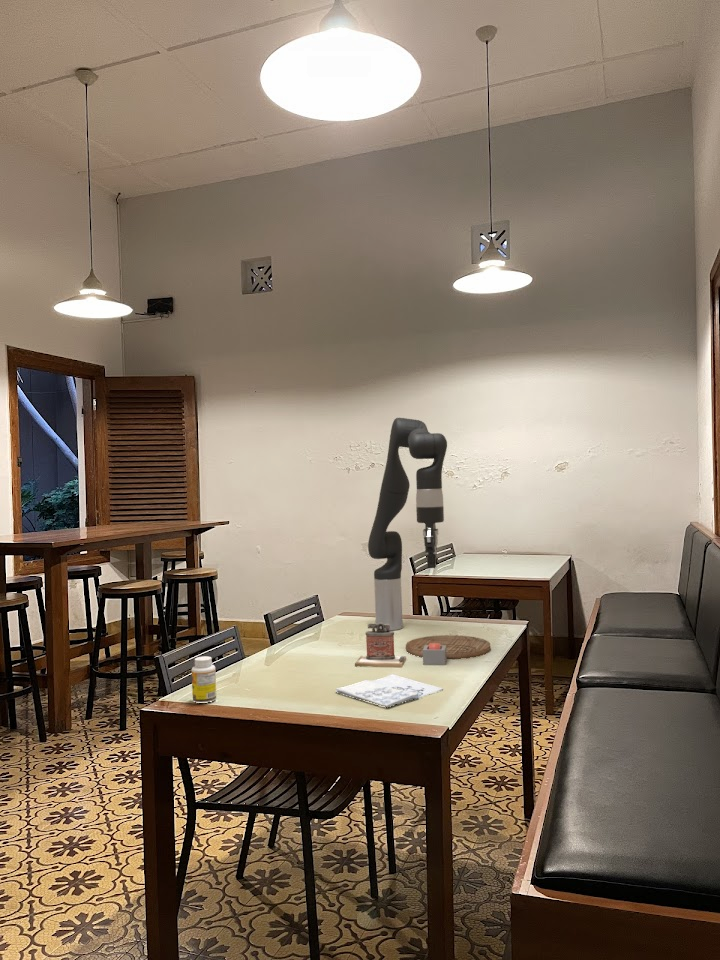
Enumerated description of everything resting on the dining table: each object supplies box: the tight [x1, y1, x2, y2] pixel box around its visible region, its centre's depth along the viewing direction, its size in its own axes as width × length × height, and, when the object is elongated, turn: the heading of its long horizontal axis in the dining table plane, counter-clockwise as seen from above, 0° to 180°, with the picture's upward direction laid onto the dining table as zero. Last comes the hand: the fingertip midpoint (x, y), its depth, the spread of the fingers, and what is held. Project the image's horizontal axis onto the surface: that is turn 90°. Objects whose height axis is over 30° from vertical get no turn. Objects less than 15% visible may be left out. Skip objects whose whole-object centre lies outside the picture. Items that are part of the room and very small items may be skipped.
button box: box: [422, 645, 447, 666], centre depth 203 cm, size 6×6×4 cm
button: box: [429, 643, 440, 649], centre depth 203 cm, size 3×3×4 cm
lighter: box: [365, 622, 396, 660], centre depth 205 cm, size 8×3×10 cm, turn 84°
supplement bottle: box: [191, 655, 217, 703], centre depth 173 cm, size 6×6×10 cm
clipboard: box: [354, 655, 407, 668], centre depth 204 cm, size 9×13×1 cm
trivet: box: [405, 634, 491, 660], centre depth 218 cm, size 25×25×2 cm
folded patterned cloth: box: [334, 673, 444, 708], centre depth 176 cm, size 19×20×2 cm
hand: (431, 567), depth 203 cm, fingers closed
